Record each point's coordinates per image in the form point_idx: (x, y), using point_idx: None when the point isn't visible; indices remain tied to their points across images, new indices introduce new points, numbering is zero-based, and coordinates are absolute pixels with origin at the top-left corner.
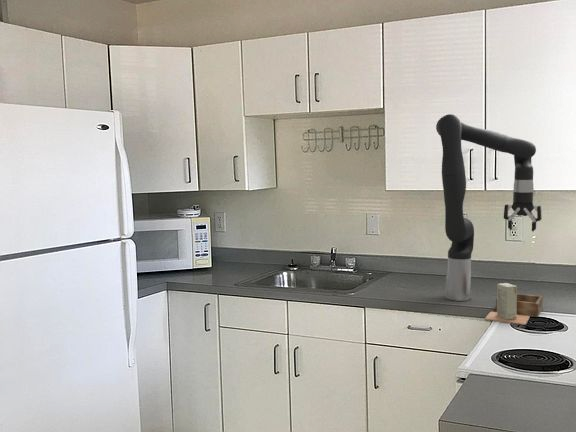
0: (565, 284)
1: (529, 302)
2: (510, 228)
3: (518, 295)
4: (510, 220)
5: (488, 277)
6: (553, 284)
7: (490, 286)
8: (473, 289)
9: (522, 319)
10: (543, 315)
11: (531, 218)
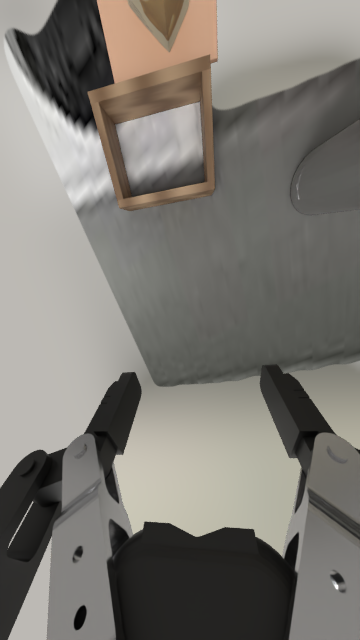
0: (160, 379)
1: (112, 91)
2: (273, 370)
3: (172, 189)
4: (316, 438)
5: None
6: (173, 373)
7: (258, 323)
8: (288, 286)
9: (114, 17)
10: None
11: (91, 478)
